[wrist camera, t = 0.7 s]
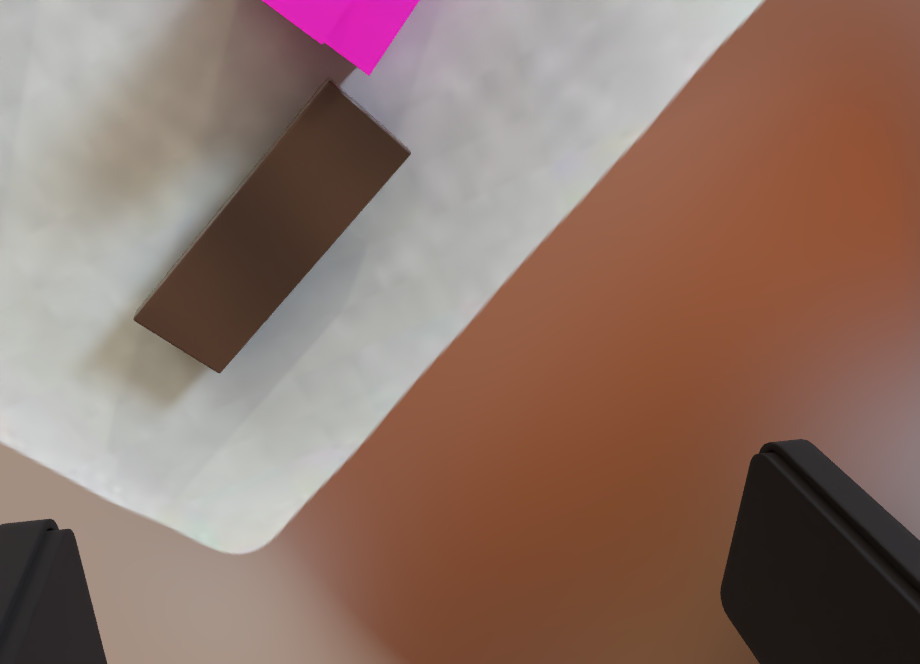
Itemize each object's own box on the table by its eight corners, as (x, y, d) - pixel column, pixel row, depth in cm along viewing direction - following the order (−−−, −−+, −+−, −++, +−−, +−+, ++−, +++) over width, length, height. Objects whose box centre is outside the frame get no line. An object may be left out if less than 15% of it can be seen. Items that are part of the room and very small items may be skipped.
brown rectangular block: (326, 73, 36) (329, 79, 34) (404, 142, 38) (412, 153, 36) (141, 299, 39) (132, 320, 36) (223, 351, 41) (219, 374, 39)
